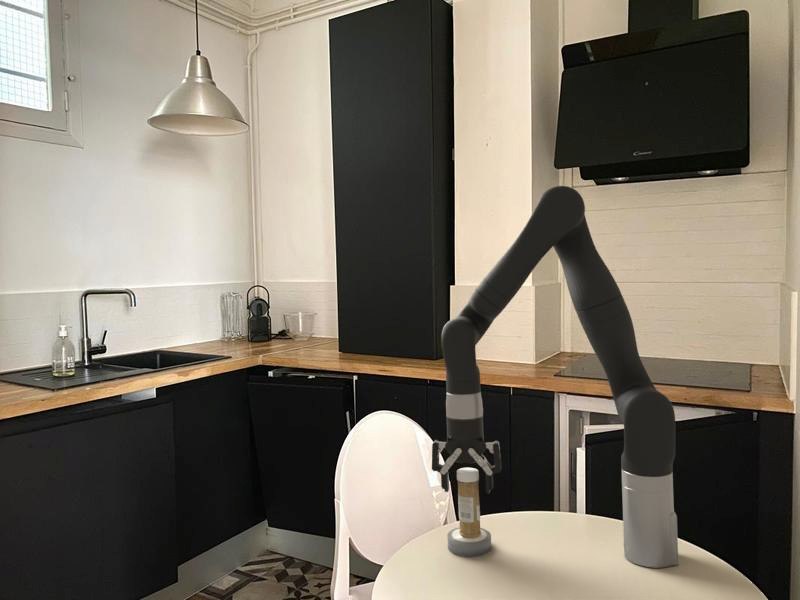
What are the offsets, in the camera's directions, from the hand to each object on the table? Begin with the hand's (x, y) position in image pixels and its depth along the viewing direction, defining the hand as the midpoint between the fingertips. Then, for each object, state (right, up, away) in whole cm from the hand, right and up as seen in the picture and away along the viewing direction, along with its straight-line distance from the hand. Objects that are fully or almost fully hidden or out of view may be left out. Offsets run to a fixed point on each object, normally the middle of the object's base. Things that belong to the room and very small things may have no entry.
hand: (467, 491), depth 127 cm
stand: (0, -12, 0) cm, 12 cm away
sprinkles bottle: (+1, -9, 0) cm, 9 cm away
